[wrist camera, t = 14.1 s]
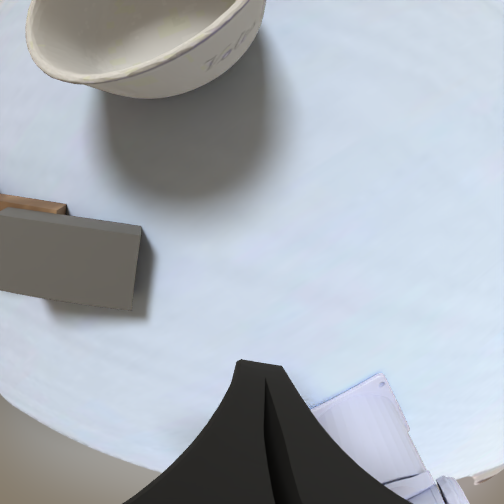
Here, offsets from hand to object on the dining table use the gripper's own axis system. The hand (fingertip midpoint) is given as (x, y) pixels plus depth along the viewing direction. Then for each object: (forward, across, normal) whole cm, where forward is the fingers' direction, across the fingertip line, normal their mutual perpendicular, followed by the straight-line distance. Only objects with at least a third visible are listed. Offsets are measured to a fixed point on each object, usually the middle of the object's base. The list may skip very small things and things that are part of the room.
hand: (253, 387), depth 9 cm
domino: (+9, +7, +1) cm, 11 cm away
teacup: (+10, +8, -15) cm, 20 cm away
